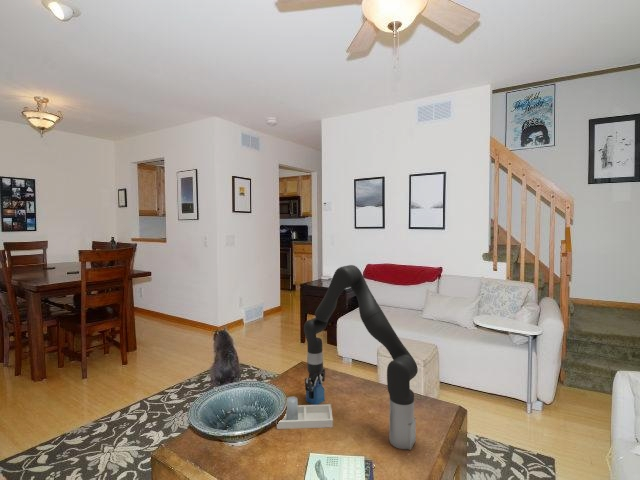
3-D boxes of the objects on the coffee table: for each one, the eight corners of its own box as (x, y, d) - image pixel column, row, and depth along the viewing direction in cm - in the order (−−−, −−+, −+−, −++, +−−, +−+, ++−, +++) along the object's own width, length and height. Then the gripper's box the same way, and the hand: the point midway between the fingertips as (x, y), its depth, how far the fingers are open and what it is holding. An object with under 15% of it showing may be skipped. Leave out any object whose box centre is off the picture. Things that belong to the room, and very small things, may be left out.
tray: (330, 412, 153) (330, 404, 152) (332, 429, 141) (332, 420, 140) (279, 414, 152) (279, 405, 151) (276, 431, 140) (276, 422, 139)
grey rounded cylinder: (300, 418, 147) (299, 398, 146) (293, 424, 142) (293, 404, 142) (290, 415, 149) (290, 395, 149) (284, 421, 145) (283, 400, 144)
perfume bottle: (316, 407, 157) (316, 382, 156) (306, 403, 161) (305, 378, 160) (324, 401, 162) (324, 377, 161) (314, 397, 166) (314, 373, 165)
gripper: (313, 368, 152) (313, 404, 153) (329, 356, 164) (330, 390, 165) (299, 364, 156) (300, 399, 157) (316, 353, 168) (317, 386, 169)
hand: (315, 394), depth 161 cm, fingers closed on perfume bottle, 6 cm apart
